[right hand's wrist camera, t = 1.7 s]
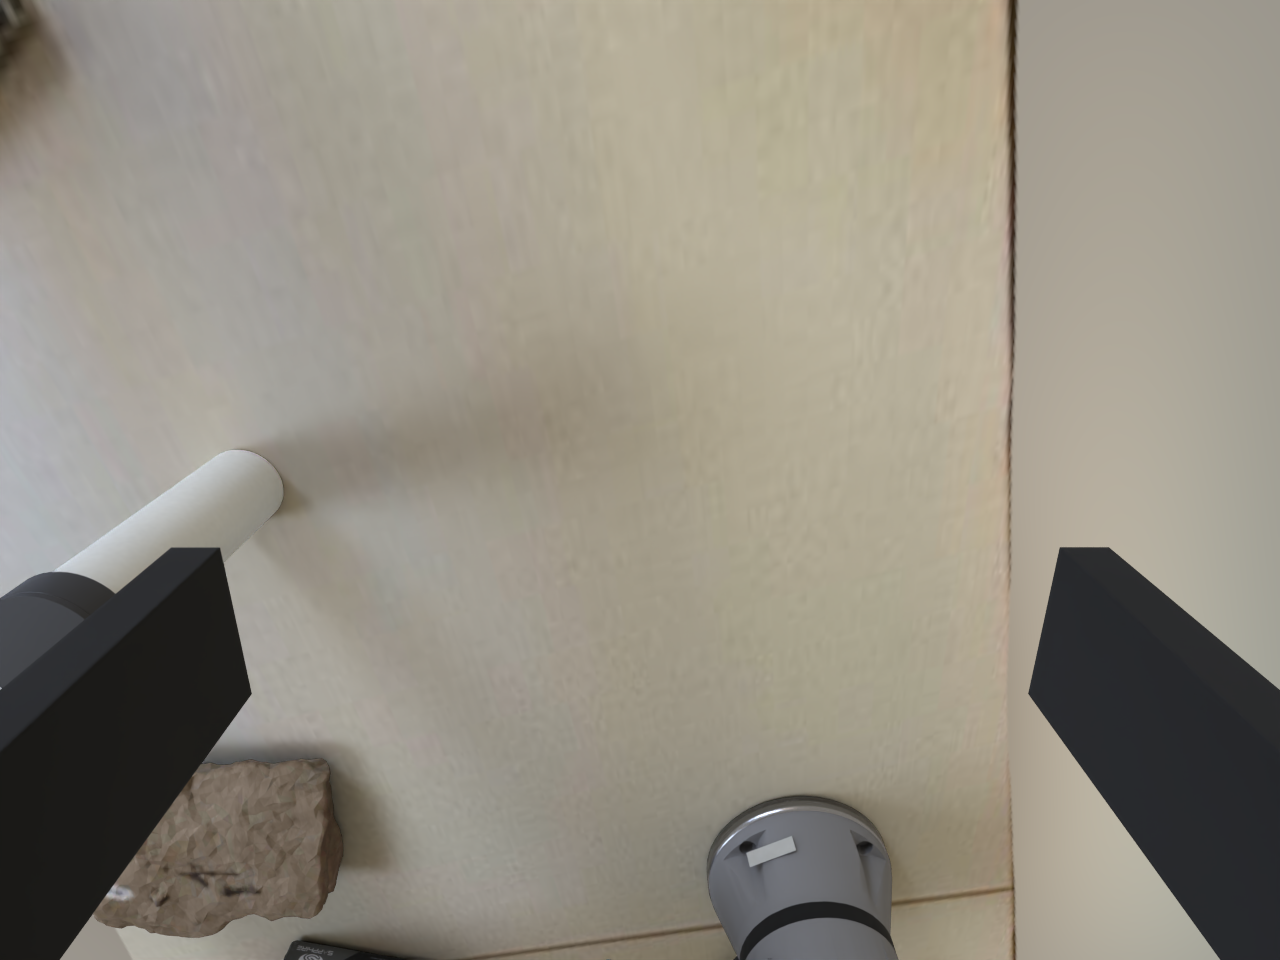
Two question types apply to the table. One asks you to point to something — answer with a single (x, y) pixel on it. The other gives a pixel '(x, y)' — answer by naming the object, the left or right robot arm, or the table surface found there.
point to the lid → (43, 616)
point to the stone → (233, 851)
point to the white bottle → (187, 519)
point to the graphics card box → (328, 953)
